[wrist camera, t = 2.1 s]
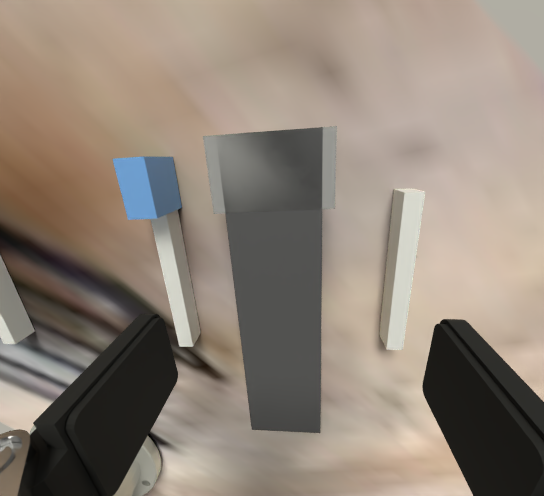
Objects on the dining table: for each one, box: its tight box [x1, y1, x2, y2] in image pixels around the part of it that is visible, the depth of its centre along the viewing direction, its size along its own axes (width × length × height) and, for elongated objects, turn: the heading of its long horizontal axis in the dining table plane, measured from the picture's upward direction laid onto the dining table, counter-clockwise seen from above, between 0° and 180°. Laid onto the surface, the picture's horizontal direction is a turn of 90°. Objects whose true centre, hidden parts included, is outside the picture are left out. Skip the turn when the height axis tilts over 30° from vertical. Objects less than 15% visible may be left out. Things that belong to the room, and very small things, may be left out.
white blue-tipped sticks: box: [0, 157, 425, 350], centre depth 15 cm, size 12×29×3 cm, turn 93°
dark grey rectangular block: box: [203, 126, 337, 433], centre depth 14 cm, size 16×5×5 cm, turn 3°
